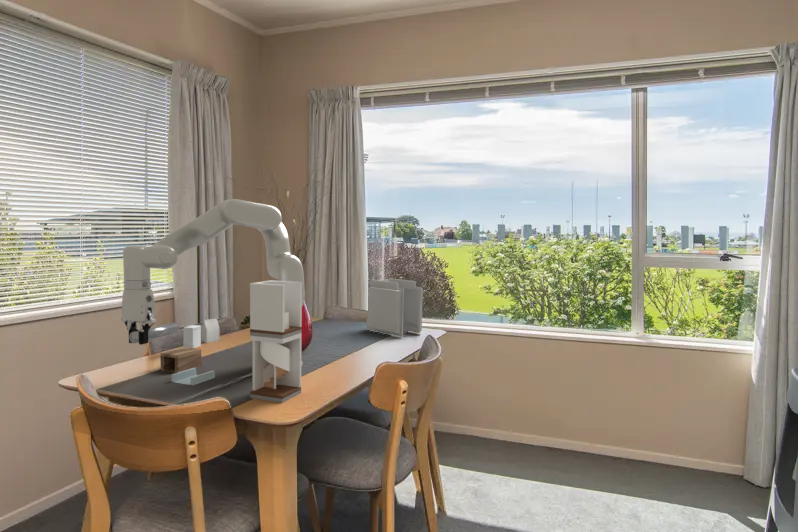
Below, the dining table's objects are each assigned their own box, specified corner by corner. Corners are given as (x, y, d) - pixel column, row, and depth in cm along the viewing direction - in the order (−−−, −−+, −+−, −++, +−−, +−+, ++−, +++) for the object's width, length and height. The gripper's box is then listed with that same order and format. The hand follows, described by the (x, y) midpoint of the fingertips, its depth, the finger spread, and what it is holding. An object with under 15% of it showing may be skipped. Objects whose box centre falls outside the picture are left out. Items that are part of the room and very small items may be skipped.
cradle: (215, 381, 184) (215, 370, 184) (193, 389, 175) (192, 378, 175) (194, 378, 188) (194, 367, 188) (171, 386, 179) (171, 374, 178)
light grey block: (219, 340, 249) (219, 318, 248) (206, 343, 243) (206, 320, 243) (214, 339, 251) (214, 317, 250) (201, 342, 245) (201, 319, 245)
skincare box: (192, 358, 216) (192, 328, 215) (183, 357, 217) (182, 327, 216) (201, 355, 222) (201, 325, 221) (191, 354, 223) (191, 324, 222)
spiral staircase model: (250, 397, 168) (250, 283, 166) (270, 388, 178) (270, 280, 176) (282, 402, 164) (282, 285, 162) (301, 393, 174) (301, 282, 172)
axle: (171, 332, 189) (170, 322, 189) (179, 332, 188) (178, 322, 188) (129, 343, 174) (128, 332, 174) (138, 343, 172) (136, 332, 172)
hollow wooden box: (201, 369, 199) (201, 349, 199) (178, 377, 189) (178, 355, 189) (184, 367, 203) (184, 346, 202) (160, 374, 192) (160, 353, 192)
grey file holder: (386, 326, 291) (387, 277, 289) (423, 334, 272) (424, 281, 270) (361, 330, 279) (362, 279, 277) (398, 339, 260) (399, 283, 258)
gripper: (166, 285, 174) (167, 343, 175) (128, 282, 180) (129, 338, 182) (146, 288, 167) (148, 348, 168) (108, 285, 173) (109, 342, 175)
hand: (138, 342), depth 175 cm, fingers closed on axle, 3 cm apart
